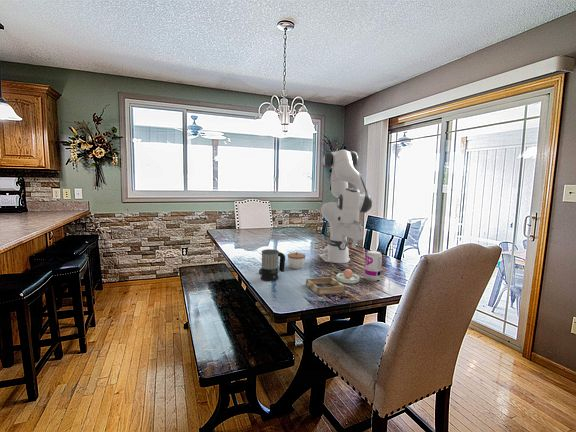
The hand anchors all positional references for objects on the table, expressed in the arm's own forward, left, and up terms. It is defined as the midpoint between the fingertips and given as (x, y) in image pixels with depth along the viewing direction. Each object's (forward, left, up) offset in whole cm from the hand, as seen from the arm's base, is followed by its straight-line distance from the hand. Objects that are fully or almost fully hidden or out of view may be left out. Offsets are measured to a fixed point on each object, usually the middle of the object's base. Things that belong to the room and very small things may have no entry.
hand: (348, 245), depth 157 cm
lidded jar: (-28, -18, -19) cm, 38 cm away
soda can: (+2, +15, -19) cm, 24 cm away
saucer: (0, +1, -19) cm, 19 cm away
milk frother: (-15, -40, -19) cm, 46 cm away
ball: (0, +1, -16) cm, 16 cm away
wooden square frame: (+9, -17, -19) cm, 27 cm away
